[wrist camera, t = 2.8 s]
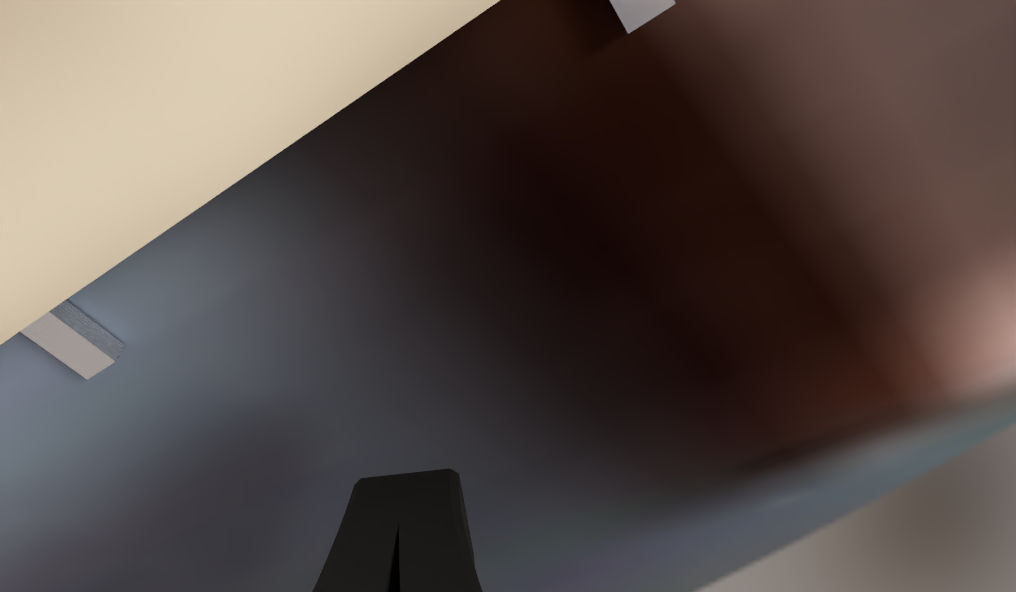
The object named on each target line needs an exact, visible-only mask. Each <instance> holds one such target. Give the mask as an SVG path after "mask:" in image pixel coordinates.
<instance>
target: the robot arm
mask: <svg viewBox="0 0 1016 592" xmlns="http://www.w3.org/2000/svg"><path fill="white" fill-rule="evenodd" d="M313 592H482V589H481V586H480V583H479V580H478V577H477V574H476V570H475V565H474V554H473V548H472V543H471V537H470V532H469V526H468V521H467V515H466V510H465V504H464V499H463V494H462V488H461V483H460V477H459V474H458V473H457V472H455V471H453V470H451V469H442V470H433V471H424V472H415V473H406V474H396V475H387V476H378V477H369V478H361V479H360V480H359V481H358V482H357V483H356V484H355V485H354V488H353V491H352V494H351V497H350V501H349V503H348V506H347V509H346V512H345V515H344V517H343V520H342V523H341V525H340V528H339V531H338V533H337V536H336V538H335V541H334V543H333V546H332V548H331V550H330V553H329V555H328V558H327V560H326V562H325V565H324V567H323V570H322V572H321V574H320V577H319V579H318V581H317V583H316V585H315V587H314V590H313Z"/></svg>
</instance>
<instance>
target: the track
mask: <svg viewBox="0 0 1016 592" xmlns="http://www.w3.org/2000/svg"><path fill="white" fill-rule="evenodd" d="M610 2H611V4H612V6H613V7H614V9H615V11H616V13H617V15H618V16H619V18H620V20H621V22H622V24H623V25H624V27H625V29H626V31H627V32H628V34H629V33H631V32H632V31H634V30H635V29H637V28H638V27H640V26H641V25H643V24H645V23H646V22H648V21H649V20H651V19H652V18H654V17H656V16H657V15H659V14H660V13H662V12H663V11H665V10H667V9H668V8H670V7H671V6H673V5H674V4H676V3H675V1H674V0H610ZM20 332H21V333H23V334H24V335H25V336H27V337H28V338H30V339H31V340H32V341H34V342H35V343H37V344H38V345H39V346H41V347H42V348H43V349H45V350H46V351H48V352H49V353H50V354H52V355H53V356H55V357H56V358H57V359H59V360H60V361H62V362H63V363H64V364H66V365H67V366H69V367H70V368H71V369H73V370H74V371H76V372H77V373H78V374H80V375H81V376H83V377H84V378H85V379H89V378H91V377H92V376H94V375H95V374H97V373H98V372H100V371H102V370H103V369H105V368H106V367H108V366H109V365H111V364H113V363H114V362H116V360H117V358H118V356H119V354H120V352H121V350H122V348H123V346H124V344H123V343H121V342H120V341H119V340H117V339H116V338H115V337H113V336H112V335H111V334H110V333H108V332H107V331H106V330H104V329H103V328H102V327H100V326H99V325H98V324H96V323H95V322H94V321H93V320H91V319H90V318H89V317H87V316H86V315H85V314H83V313H82V312H81V311H80V310H78V309H77V308H76V307H74V306H73V305H72V304H70V303H69V302H68V301H67V300H65V301H63V302H62V303H60V304H59V305H57V306H56V307H54V308H53V309H52V310H50V311H49V312H47V313H46V314H44V315H43V316H41V317H40V318H39V319H37V320H36V321H34V322H33V323H31V324H30V325H28V326H27V327H25V328H24V329H23V330H21V331H20Z"/></svg>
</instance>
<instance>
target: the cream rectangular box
mask: <svg viewBox="0 0 1016 592" xmlns="http://www.w3.org/2000/svg"><path fill="white" fill-rule="evenodd" d="M498 1H500V0H0V345H1V344H2V343H4V342H5V341H7V340H8V339H10V338H11V337H12V336H14V335H15V334H17V333H18V332H20V331H21V330H23V329H24V328H25V327H27V326H28V325H30V324H31V323H33V322H34V321H36V320H37V319H39V318H40V317H41V316H43V315H44V314H46V313H47V312H49V311H50V310H52V309H53V308H54V307H56V306H57V305H59V304H60V303H62V302H63V301H65V300H66V299H68V298H69V297H70V296H72V295H73V294H75V293H76V292H78V291H79V290H81V289H82V288H83V287H85V286H86V285H88V284H89V283H91V282H92V281H94V280H95V279H97V278H98V277H99V276H101V275H102V274H104V273H105V272H107V271H108V270H110V269H111V268H113V267H114V266H115V265H117V264H118V263H120V262H121V261H123V260H124V259H126V258H127V257H128V256H130V255H131V254H133V253H134V252H136V251H137V250H139V249H140V248H142V247H143V246H144V245H146V244H147V243H149V242H150V241H152V240H153V239H155V238H156V237H157V236H159V235H160V234H162V233H163V232H165V231H166V230H168V229H169V228H171V227H172V226H173V225H175V224H176V223H178V222H179V221H181V220H182V219H184V218H185V217H186V216H188V215H189V214H191V213H192V212H194V211H195V210H197V209H198V208H200V207H201V206H202V205H204V204H205V203H207V202H208V201H210V200H211V199H213V198H214V197H215V196H217V195H218V194H220V193H221V192H223V191H224V190H226V189H227V188H229V187H230V186H231V185H233V184H234V183H236V182H237V181H239V180H240V179H242V178H243V177H244V176H246V175H247V174H249V173H250V172H252V171H253V170H255V169H256V168H258V167H259V166H260V165H262V164H263V163H265V162H266V161H268V160H269V159H271V158H272V157H273V156H275V155H276V154H278V153H279V152H281V151H282V150H284V149H285V148H287V147H288V146H289V145H291V144H292V143H294V142H295V141H297V140H298V139H300V138H301V137H302V136H304V135H305V134H307V133H308V132H310V131H311V130H313V129H314V128H316V127H317V126H318V125H320V124H321V123H323V122H324V121H326V120H327V119H329V118H330V117H331V116H333V115H334V114H336V113H337V112H339V111H340V110H342V109H343V108H345V107H346V106H347V105H349V104H350V103H352V102H353V101H355V100H356V99H358V98H359V97H360V96H362V95H363V94H365V93H366V92H368V91H369V90H371V89H372V88H374V87H375V86H376V85H378V84H379V83H381V82H382V81H384V80H385V79H387V78H388V77H389V76H391V75H392V74H394V73H395V72H397V71H398V70H400V69H401V68H403V67H404V66H405V65H407V64H408V63H410V62H411V61H413V60H414V59H416V58H417V57H418V56H420V55H421V54H423V53H424V52H426V51H427V50H429V49H430V48H432V47H433V46H434V45H436V44H437V43H439V42H440V41H442V40H443V39H445V38H446V37H447V36H449V35H450V34H452V33H453V32H455V31H456V30H458V29H459V28H461V27H462V26H463V25H465V24H466V23H468V22H469V21H471V20H472V19H474V18H475V17H476V16H478V15H479V14H481V13H482V12H484V11H485V10H487V9H488V8H490V7H491V6H492V5H494V4H495V3H497V2H498Z"/></svg>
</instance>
